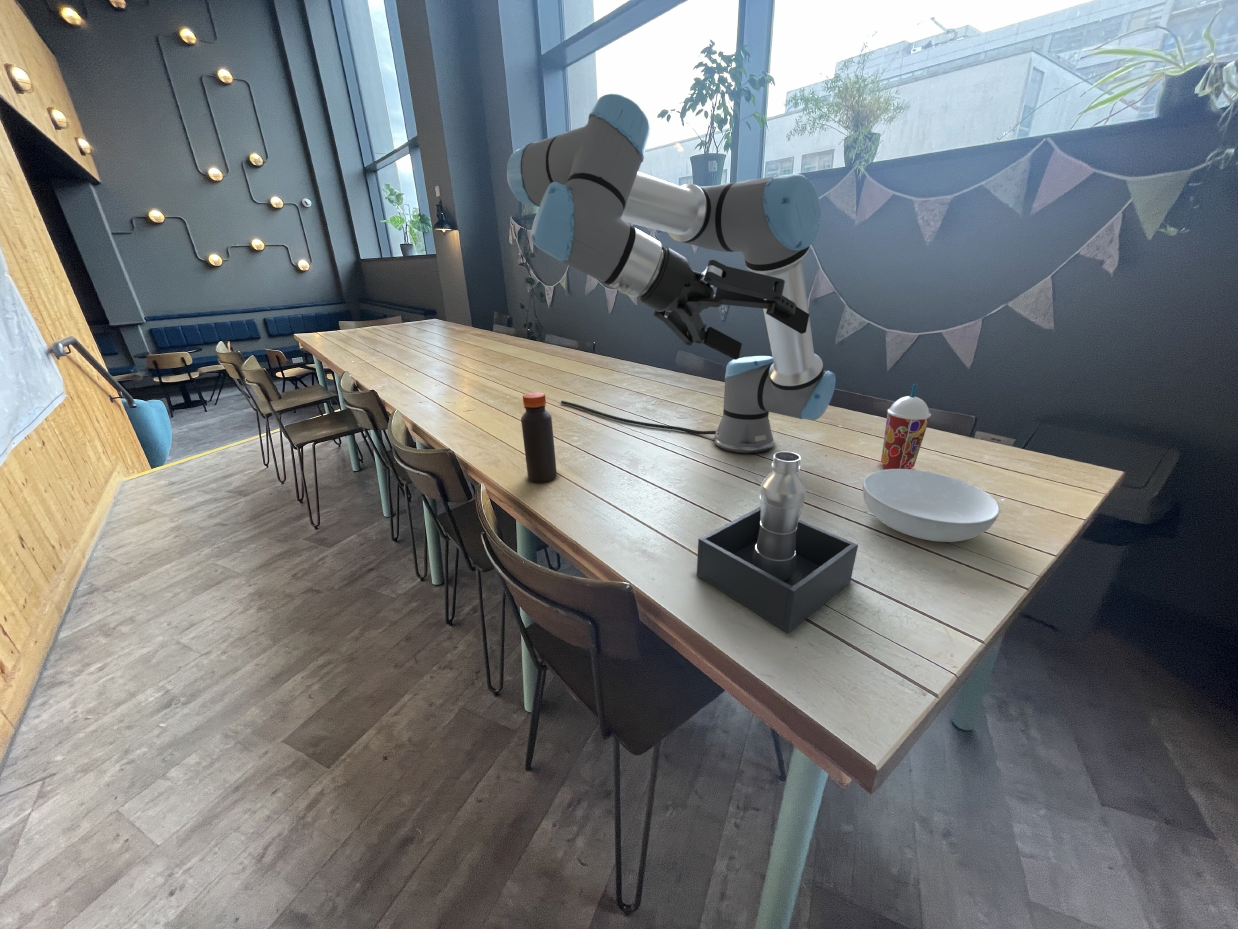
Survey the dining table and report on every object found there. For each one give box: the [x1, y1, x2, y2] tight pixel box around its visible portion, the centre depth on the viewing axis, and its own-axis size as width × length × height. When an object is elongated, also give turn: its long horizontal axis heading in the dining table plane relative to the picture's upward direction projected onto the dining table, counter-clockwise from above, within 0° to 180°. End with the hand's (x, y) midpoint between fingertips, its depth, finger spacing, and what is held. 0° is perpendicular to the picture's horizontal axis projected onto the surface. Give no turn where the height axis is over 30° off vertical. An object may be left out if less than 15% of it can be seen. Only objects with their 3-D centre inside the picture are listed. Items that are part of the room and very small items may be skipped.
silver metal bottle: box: [752, 451, 807, 581], centre depth 69 cm, size 6×7×20 cm
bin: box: [696, 506, 859, 634], centre depth 72 cm, size 17×17×7 cm
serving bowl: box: [862, 468, 1001, 543], centre depth 85 cm, size 21×21×7 cm
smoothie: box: [880, 383, 932, 470], centre depth 106 cm, size 8×8×20 cm
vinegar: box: [520, 391, 558, 484], centre depth 107 cm, size 7×7×20 cm
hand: (769, 339), depth 70 cm, fingers open, 13 cm apart
